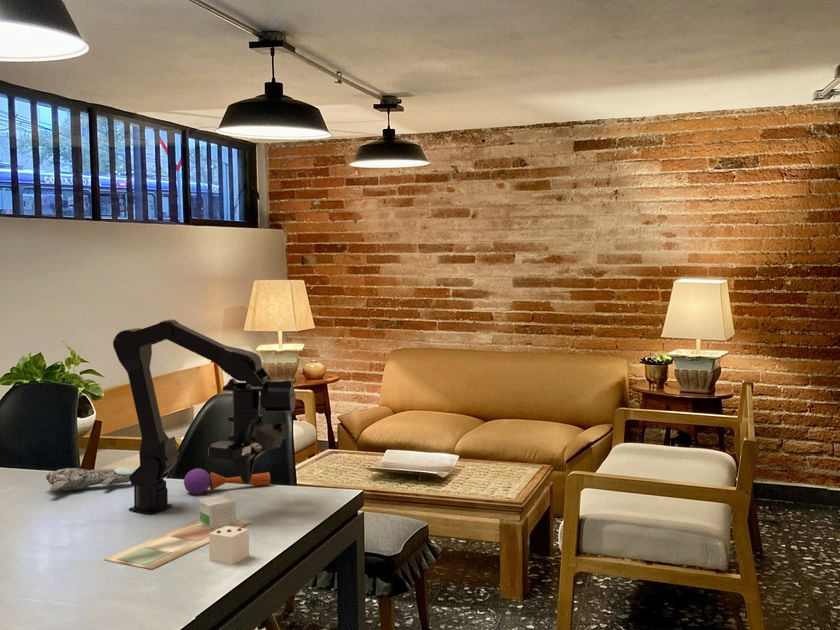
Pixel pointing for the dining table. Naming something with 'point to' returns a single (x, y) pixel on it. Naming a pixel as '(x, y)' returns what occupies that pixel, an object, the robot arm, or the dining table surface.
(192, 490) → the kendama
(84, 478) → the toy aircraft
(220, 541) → the die
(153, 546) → the game board
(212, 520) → the small box
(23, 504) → the dining table surface
